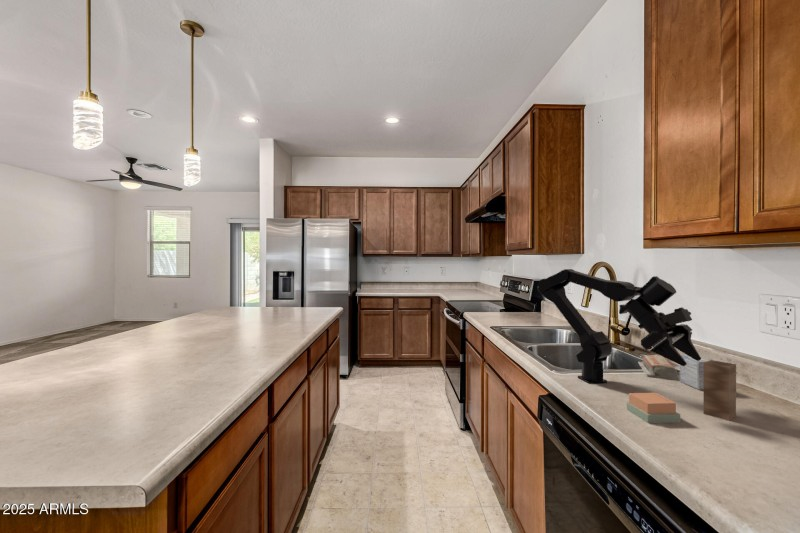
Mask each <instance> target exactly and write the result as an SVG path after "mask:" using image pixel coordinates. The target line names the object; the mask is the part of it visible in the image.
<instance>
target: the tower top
mask: <svg viewBox="0 0 800 533" xmlns="http://www.w3.org/2000/svg"><path fill="white" fill-rule="evenodd" d="M628 394H629V395H628V400H629V401H628V403H631V404H632V405H634V406H635V407H637V408H639V409H640V410H642V411H644V412H645V413H647V414H664V413H676V412H677V403H676V402H675V401H674V400H673V401H672V400H670V399H668V398H667V397H666V396H663V395H661V394H659V393H657V392H631V393H630V392H628Z"/></svg>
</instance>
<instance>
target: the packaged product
mask: <svg viewBox="0 0 800 533" xmlns="http://www.w3.org/2000/svg"><path fill="white" fill-rule="evenodd" d="M638 365H639V366H640V368H641V371H643V373H644V374H645V376H646V377H648V378H656V379H663V380H664V379H666V380H672V381H673V380H674V381H680V372H678V371H677V369H676V368H675V366H674V365H673V364H672V363H671V362H670V360H669V359H667V358H665V357H663V356H661V355H658V354H650V355H645V356H642V361H638Z"/></svg>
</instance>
